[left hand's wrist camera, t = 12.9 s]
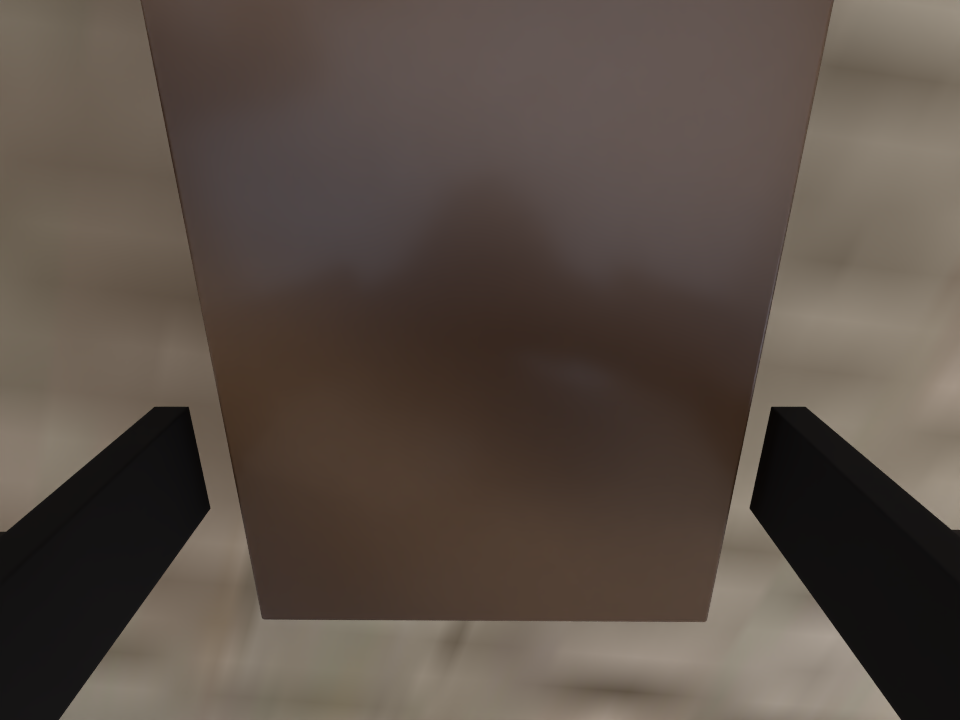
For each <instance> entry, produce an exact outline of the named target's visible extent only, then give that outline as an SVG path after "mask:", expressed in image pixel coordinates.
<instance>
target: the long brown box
mask: <svg viewBox="0 0 960 720" xmlns="http://www.w3.org/2000/svg"><path fill="white" fill-rule="evenodd" d="M833 2H834V0H141V4H142V9H143V14H144V19H145V24H146V30H147V35H148V40H149V45H150V50H151V55H152V60H153V65H154V70H155V75H156V80H157V86H158V91H159V96H160V101H161V106H162V111H163V116H164V121H165V126H166V131H167V136H168V142H169V147H170V152H171V157H172V162H173V167H174V172H175V177H176V182H177V187H178V192H179V198H180V203H181V208H182V213H183V218H184V223H185V228H186V233H187V238H188V243H189V248H190V254H191V259H192V264H193V269H194V274H195V279H196V284H197V289H198V294H199V299H200V304H201V309H202V315H203V320H204V325H205V330H206V335H207V340H208V345H209V350H210V355H211V360H212V365H213V371H214V376H215V381H216V386H217V391H218V396H219V401H220V406H221V411H222V416H223V421H224V427H225V432H226V437H227V442H228V447H229V452H230V457H231V462H232V467H233V472H234V477H235V483H236V488H237V493H238V498H239V503H240V508H241V513H242V518H243V523H244V528H245V533H246V539H247V544H248V549H249V554H250V559H251V564H252V569H253V574H254V579H255V584H256V589H257V594H258V600H259V605H260V610H261V615H262V618H263V619H289V620H462V621H636V622H705V621H707V617H708V612H709V607H710V602H711V597H712V592H713V587H714V582H715V578H716V573H717V568H718V563H719V558H720V553H721V548H722V543H723V538H724V534H725V529H726V524H727V519H728V514H729V509H730V504H731V499H732V495H733V490H734V485H735V480H736V475H737V470H738V465H739V460H740V456H741V451H742V446H743V441H744V436H745V431H746V426H747V421H748V416H749V412H750V407H751V402H752V397H753V392H754V387H755V382H756V377H757V373H758V368H759V363H760V358H761V353H762V348H763V343H764V338H765V334H766V329H767V324H768V319H769V314H770V309H771V304H772V299H773V294H774V290H775V285H776V280H777V275H778V270H779V265H780V260H781V255H782V251H783V246H784V241H785V236H786V231H787V226H788V221H789V216H790V211H791V207H792V202H793V197H794V192H795V187H796V182H797V177H798V172H799V168H800V163H801V158H802V153H803V148H804V143H805V138H806V133H807V129H808V124H809V119H810V114H811V109H812V104H813V99H814V94H815V89H816V85H817V80H818V75H819V70H820V65H821V60H822V55H823V50H824V46H825V41H826V36H827V31H828V26H829V21H830V16H831V11H832V7H833Z"/></svg>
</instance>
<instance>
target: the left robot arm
mask: <svg viewBox="0 0 960 720" xmlns="http://www.w3.org/2000/svg"><path fill="white" fill-rule="evenodd" d="M209 510H210V504H209V500H208V495H207V490H206V486H205V481H204V476H203V472H202V467H201V462H200V458H199V453H198V448H197V444H196V439H195V434H194V430H193V425H192V420H191V416H190V411H189V407H154V408H153V409H151V410H150V411H149V412H148V413H147V414H146V415H144V416H143V417H142V418H141V419H140V420H138V421H137V422H136V423H135V424H134V425H132V426H131V427H130V428H129V429H128V430H127V431H125V432H124V433H123V434H122V435H121V436H119V437H118V438H117V439H116V440H115V441H113V442H112V443H111V444H110V445H109V446H108V447H106V448H105V449H104V450H103V451H102V452H100V453H99V454H98V455H97V456H96V457H94V458H93V459H92V460H91V461H90V462H89V463H87V464H86V465H85V466H84V467H83V468H81V469H80V470H79V471H78V472H77V473H75V474H74V475H73V476H72V477H71V478H70V479H68V480H67V481H66V482H65V483H64V484H62V485H61V486H60V487H59V488H58V489H57V490H55V491H54V492H53V493H52V494H51V495H49V496H48V497H47V498H46V499H45V500H43V501H42V502H41V503H40V504H39V505H38V506H36V507H35V508H34V509H33V510H32V511H30V512H29V513H28V514H27V515H26V516H24V517H23V518H22V519H21V520H20V521H19V522H17V523H16V524H15V525H14V526H13V527H11V528H10V529H9V530H8V531H7V532H0V720H59V719H60V717H61V716H62V715H63V713H64V712H65V710H66V709H67V708H68V706H69V705H70V703H71V702H72V701H73V699H74V698H75V696H76V695H77V694H78V692H79V691H80V689H81V688H82V687H83V685H84V684H85V683H86V681H87V680H88V678H89V677H90V676H91V674H92V673H93V671H94V670H95V669H96V667H97V666H98V664H99V663H100V662H101V660H102V659H103V657H104V656H105V655H106V653H107V652H108V650H109V649H110V648H111V646H112V645H113V643H114V642H115V641H116V639H117V638H118V637H119V635H120V634H121V632H122V631H123V630H124V628H125V627H126V625H127V624H128V623H129V621H130V620H131V618H132V617H133V616H134V614H135V613H136V611H137V610H138V609H139V607H140V606H141V604H142V603H143V602H144V600H145V599H146V597H147V596H148V595H149V593H150V592H151V591H152V589H153V588H154V586H155V585H156V584H157V582H158V581H159V579H160V578H161V577H162V575H163V574H164V572H165V571H166V570H167V568H168V567H169V565H170V564H171V563H172V561H173V560H174V558H175V557H176V556H177V554H178V553H179V551H180V550H181V549H182V547H183V546H184V545H185V543H186V542H187V540H188V539H189V538H190V536H191V535H192V533H193V532H194V531H195V529H196V528H197V526H198V525H199V524H200V522H201V521H202V519H203V518H204V517H205V515H206V514H207V512H208V511H209ZM750 510H751V511H752V512H753V514H754V515H755V517H756V518H757V519H758V521H759V522H760V524H761V525H762V526H763V528H764V529H765V531H766V532H767V533H768V535H769V536H770V538H771V539H772V540H773V542H774V543H775V545H776V546H777V547H778V549H779V550H780V551H781V553H782V554H783V556H784V557H785V558H786V560H787V561H788V563H789V564H790V565H791V567H792V568H793V570H794V571H795V572H796V574H797V575H798V577H799V578H800V579H801V581H802V582H803V584H804V585H805V586H806V588H807V589H808V591H809V592H810V593H811V595H812V596H813V597H814V599H815V600H816V602H817V603H818V604H819V606H820V607H821V609H822V610H823V611H824V613H825V614H826V616H827V617H828V618H829V620H830V621H831V623H832V624H833V625H834V627H835V628H836V630H837V631H838V632H839V634H840V635H841V637H842V638H843V639H844V641H845V642H846V643H847V645H848V646H849V648H850V649H851V650H852V652H853V653H854V655H855V656H856V657H857V659H858V660H859V662H860V663H861V664H862V666H863V667H864V669H865V670H866V671H867V673H868V674H869V676H870V677H871V678H872V680H873V681H874V683H875V684H876V685H877V687H878V688H879V689H880V691H881V692H882V694H883V695H884V696H885V698H886V699H887V701H888V702H889V703H890V705H891V706H892V708H893V709H894V710H895V712H896V713H897V715H898V716H899V717H900V719H901V720H960V530H951V529H950V528H949V527H947V526H946V525H945V524H944V523H943V522H941V521H940V520H939V519H938V518H937V517H936V516H934V515H933V514H932V513H931V512H930V511H928V510H927V509H926V508H925V507H924V506H922V505H921V504H920V503H919V502H918V501H917V500H915V499H914V498H913V497H912V496H911V495H909V494H908V493H907V492H906V491H905V490H903V489H902V488H901V487H900V486H899V485H898V484H896V483H895V482H894V481H893V480H892V479H890V478H889V477H888V476H887V475H886V474H885V473H883V472H882V471H881V470H880V469H879V468H877V467H876V466H875V465H874V464H873V463H871V462H870V461H869V460H868V459H867V458H866V457H864V456H863V455H862V454H861V453H860V452H858V451H857V450H856V449H855V448H854V447H852V446H851V445H850V444H849V443H848V442H847V441H845V440H844V439H843V438H842V437H841V436H839V435H838V434H837V433H836V432H835V431H833V430H832V429H831V428H830V427H829V426H828V425H826V424H825V423H824V422H823V421H822V420H820V419H819V418H818V417H817V416H816V415H814V414H813V413H812V412H811V411H810V410H809V409H807V408H806V407H771V411H770V416H769V420H768V425H767V430H766V434H765V439H764V444H763V448H762V453H761V458H760V462H759V467H758V472H757V476H756V481H755V486H754V490H753V495H752V500H751V504H750Z"/></svg>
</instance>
